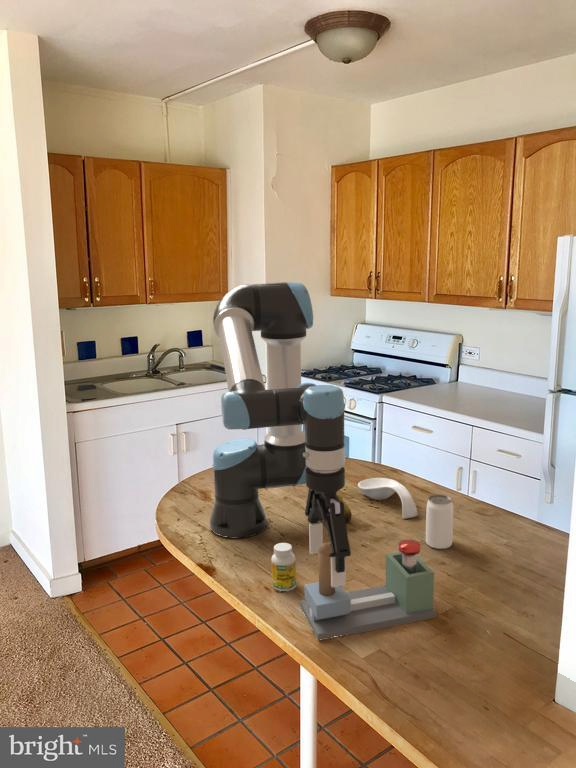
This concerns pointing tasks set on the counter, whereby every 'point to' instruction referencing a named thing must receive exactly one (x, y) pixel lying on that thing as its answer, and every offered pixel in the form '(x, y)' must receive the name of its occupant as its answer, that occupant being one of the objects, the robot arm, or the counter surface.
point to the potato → (345, 510)
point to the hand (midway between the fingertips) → (326, 568)
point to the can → (439, 522)
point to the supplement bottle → (283, 567)
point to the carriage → (326, 590)
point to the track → (363, 616)
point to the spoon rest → (389, 493)
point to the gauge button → (409, 554)
